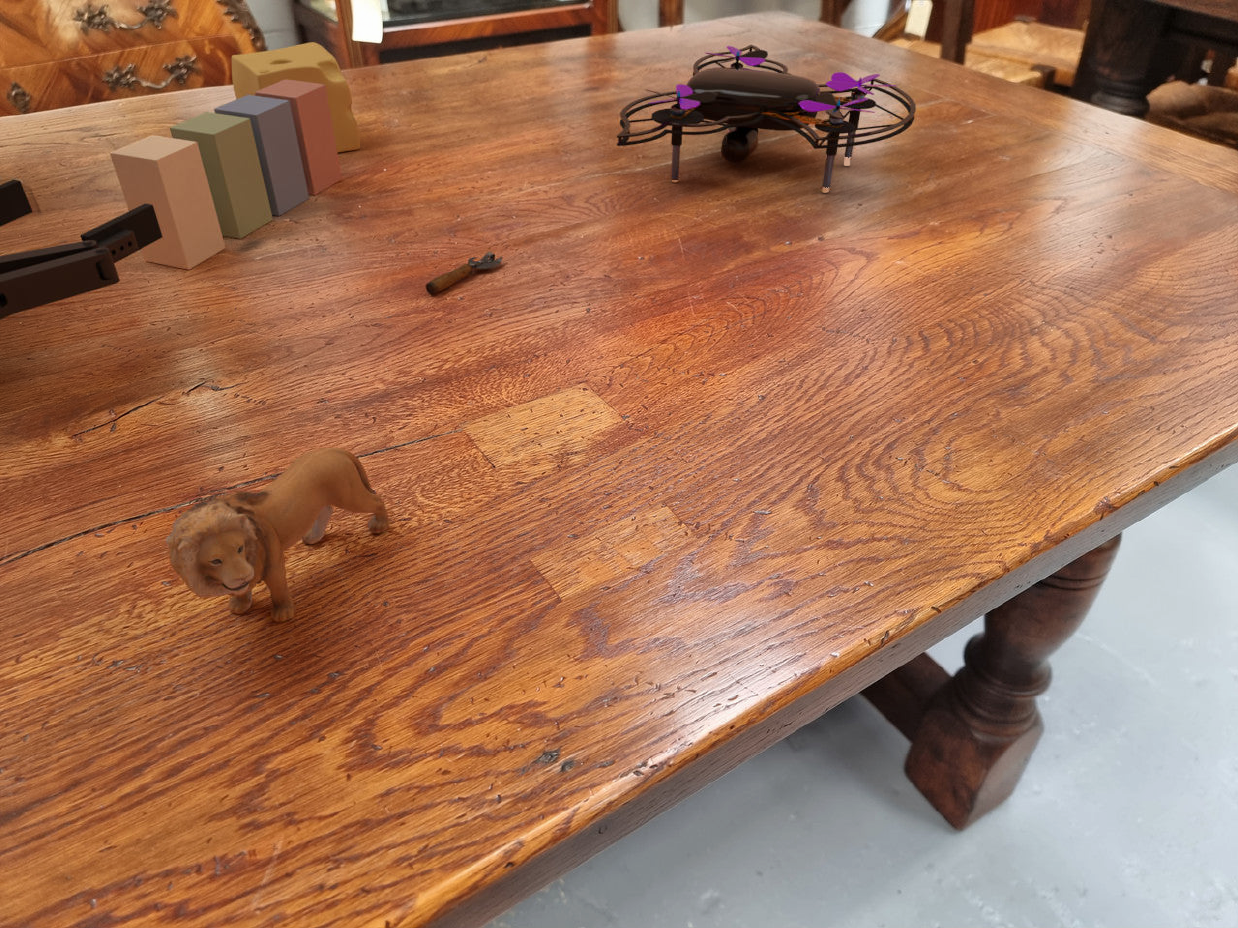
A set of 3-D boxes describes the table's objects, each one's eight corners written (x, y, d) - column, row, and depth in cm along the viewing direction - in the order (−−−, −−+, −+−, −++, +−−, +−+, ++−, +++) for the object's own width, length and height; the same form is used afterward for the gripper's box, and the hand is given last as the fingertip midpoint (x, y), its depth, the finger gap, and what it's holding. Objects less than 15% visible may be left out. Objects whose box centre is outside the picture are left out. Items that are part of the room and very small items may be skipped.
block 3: (238, 209, 94) (213, 108, 88) (269, 192, 98) (247, 94, 92) (279, 216, 93) (256, 115, 87) (309, 198, 97) (289, 100, 91)
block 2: (198, 231, 90) (168, 127, 84) (232, 212, 94) (206, 111, 88) (240, 239, 89) (213, 134, 82) (273, 220, 92) (250, 118, 86)
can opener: (433, 297, 79) (432, 285, 79) (416, 289, 81) (414, 276, 80) (509, 263, 85) (508, 251, 84) (492, 256, 86) (491, 244, 85)
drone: (727, 26, 118) (950, 52, 109) (721, 104, 124) (932, 135, 115) (586, 112, 90) (872, 157, 80) (587, 208, 96) (853, 260, 86)
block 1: (144, 261, 85) (109, 152, 79) (183, 240, 88) (151, 134, 82) (189, 270, 83) (156, 160, 77) (226, 248, 87) (197, 141, 81)
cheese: (363, 150, 109) (349, 60, 103) (272, 167, 104) (251, 74, 98) (331, 126, 115) (316, 40, 109) (244, 141, 111) (223, 52, 105)
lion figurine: (264, 683, 47) (219, 553, 41) (177, 655, 48) (123, 526, 42) (409, 506, 58) (389, 385, 52) (335, 488, 59) (308, 367, 53)
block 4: (275, 188, 99) (254, 92, 93) (304, 173, 103) (285, 79, 96) (315, 195, 98) (295, 97, 91) (342, 179, 101) (325, 84, 95)
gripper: (-269, 342, 65) (-10, 228, 81) (-1, 416, 58) (224, 275, 74) (-335, 242, 60) (-47, 142, 76) (-52, 310, 54) (199, 184, 69)
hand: (87, 207), depth 75 cm, fingers open, 13 cm apart
